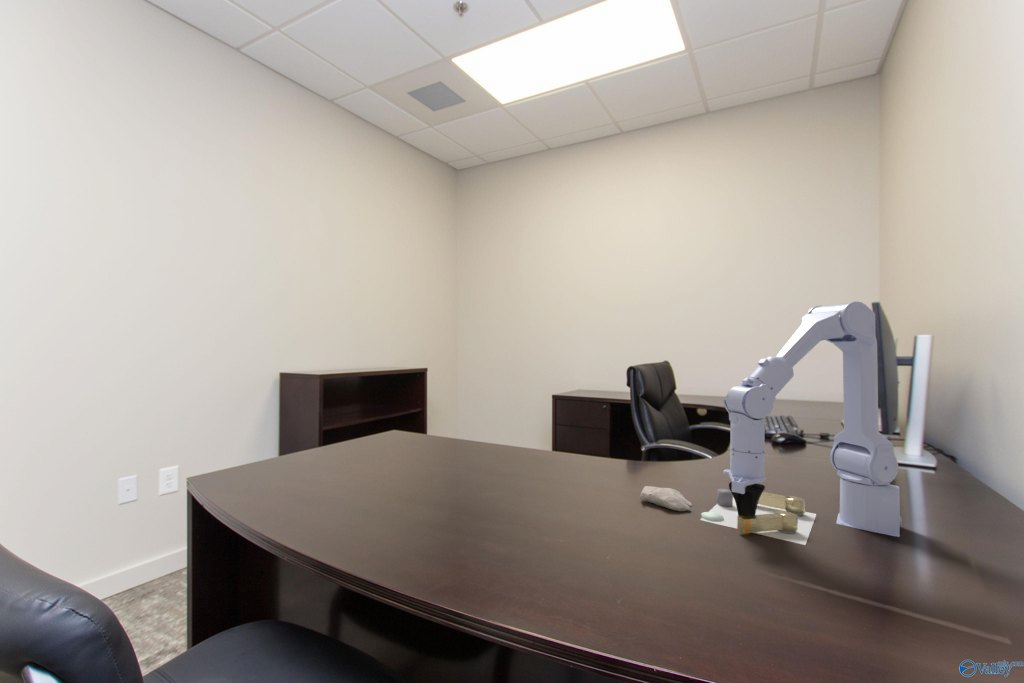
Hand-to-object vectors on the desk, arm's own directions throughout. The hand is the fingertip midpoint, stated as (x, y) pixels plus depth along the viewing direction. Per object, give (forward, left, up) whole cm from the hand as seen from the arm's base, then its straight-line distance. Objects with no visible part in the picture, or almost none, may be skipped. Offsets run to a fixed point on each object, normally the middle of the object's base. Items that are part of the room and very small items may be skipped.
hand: (746, 523), depth 85 cm
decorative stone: (+17, -6, -2) cm, 18 cm away
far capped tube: (-2, -16, 0) cm, 16 cm away
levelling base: (-1, -9, -2) cm, 9 cm away
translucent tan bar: (-4, -1, 0) cm, 4 cm away
